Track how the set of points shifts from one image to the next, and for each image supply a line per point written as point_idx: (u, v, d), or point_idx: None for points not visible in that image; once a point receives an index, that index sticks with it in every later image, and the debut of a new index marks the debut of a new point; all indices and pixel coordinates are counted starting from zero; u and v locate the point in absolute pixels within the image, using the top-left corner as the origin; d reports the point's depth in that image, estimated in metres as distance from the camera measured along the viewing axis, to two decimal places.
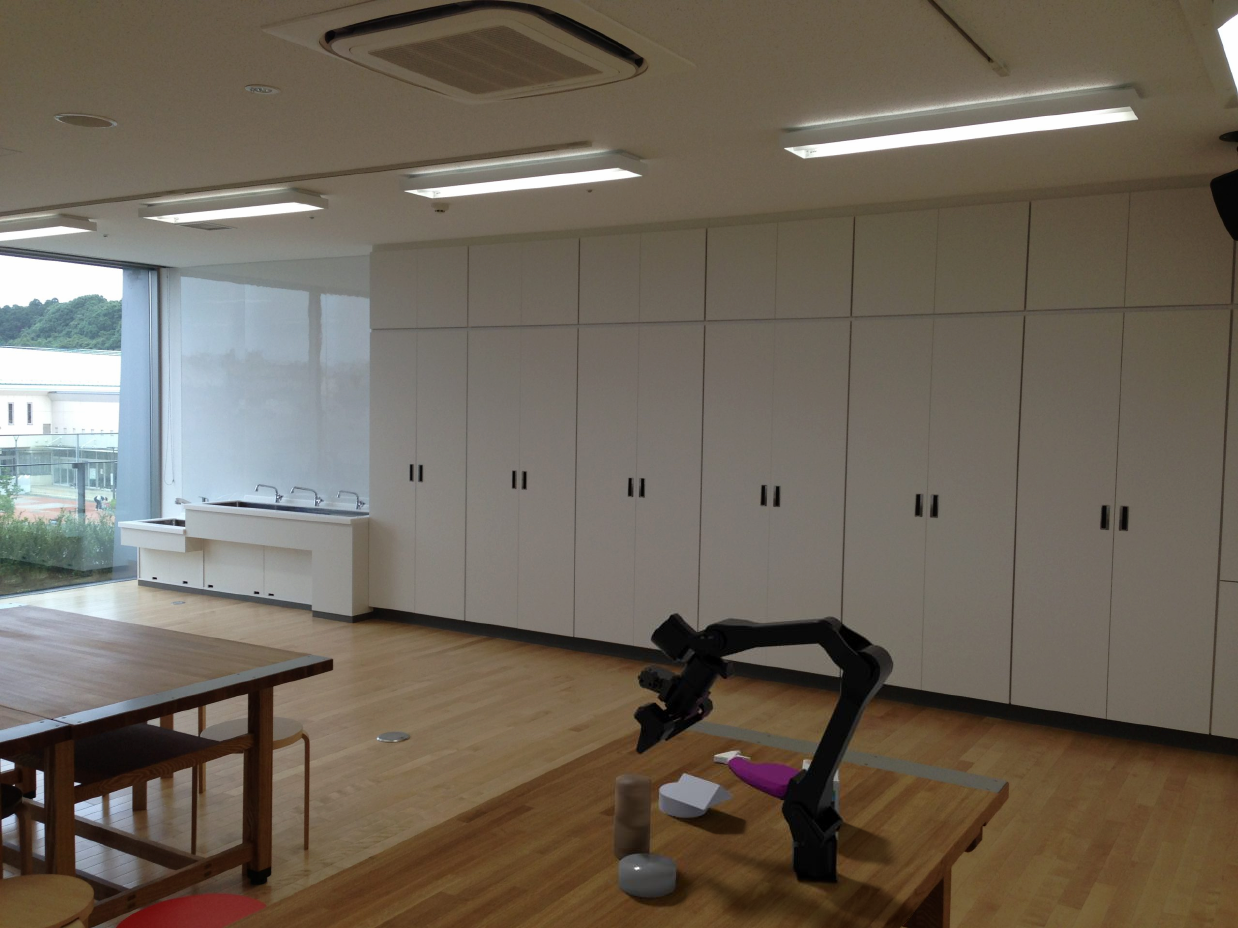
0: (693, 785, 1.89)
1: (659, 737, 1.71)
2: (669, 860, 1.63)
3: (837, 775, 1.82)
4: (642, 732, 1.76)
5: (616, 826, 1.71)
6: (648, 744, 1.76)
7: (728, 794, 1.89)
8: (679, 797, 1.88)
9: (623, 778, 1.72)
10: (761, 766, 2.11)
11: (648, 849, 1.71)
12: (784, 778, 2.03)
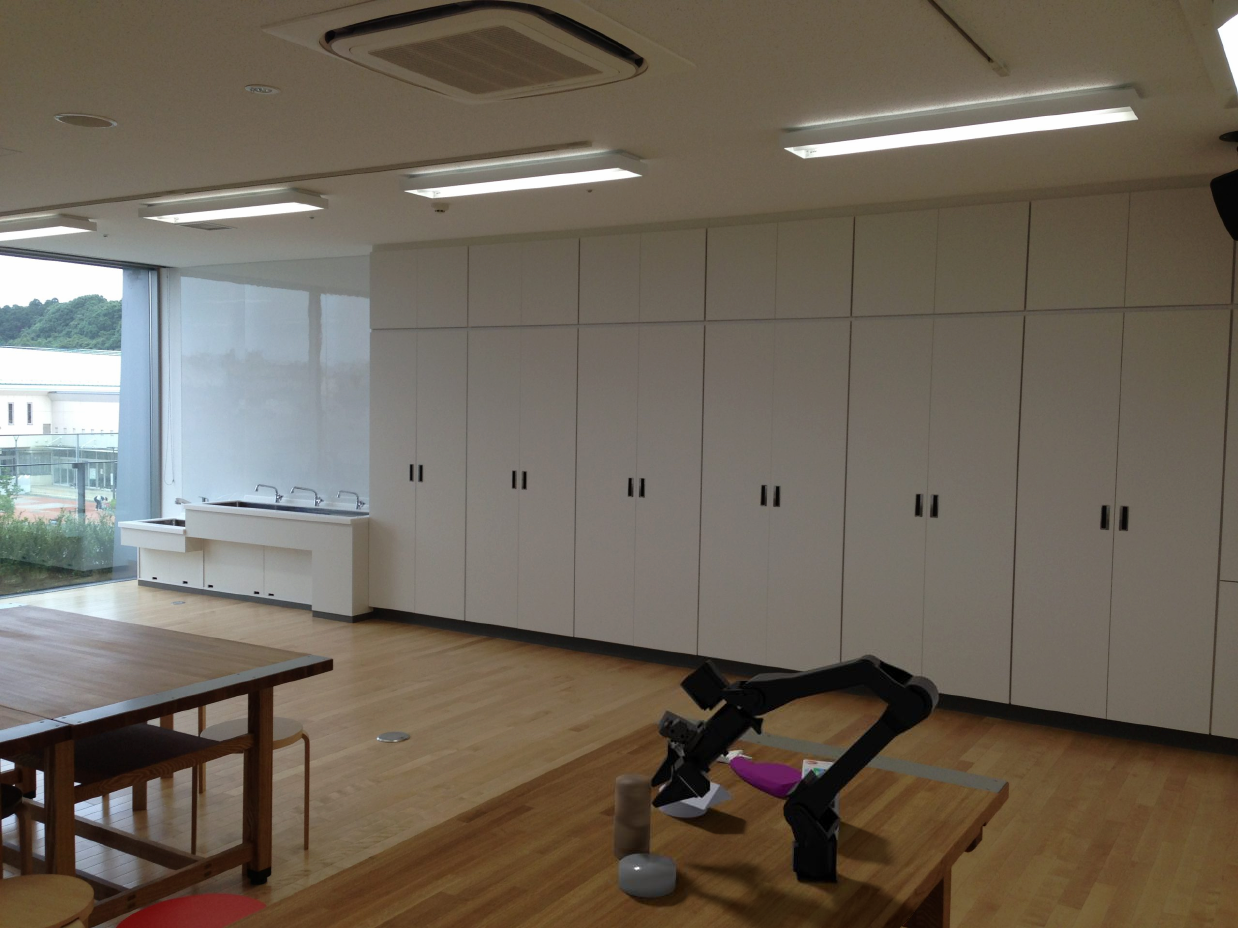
0: None
1: (703, 795, 1.63)
2: (669, 860, 1.63)
3: None
4: (669, 786, 1.66)
5: (616, 826, 1.71)
6: (673, 799, 1.66)
7: (728, 794, 1.89)
8: None
9: (623, 778, 1.72)
10: (762, 765, 2.11)
11: (648, 849, 1.71)
12: (784, 778, 2.03)
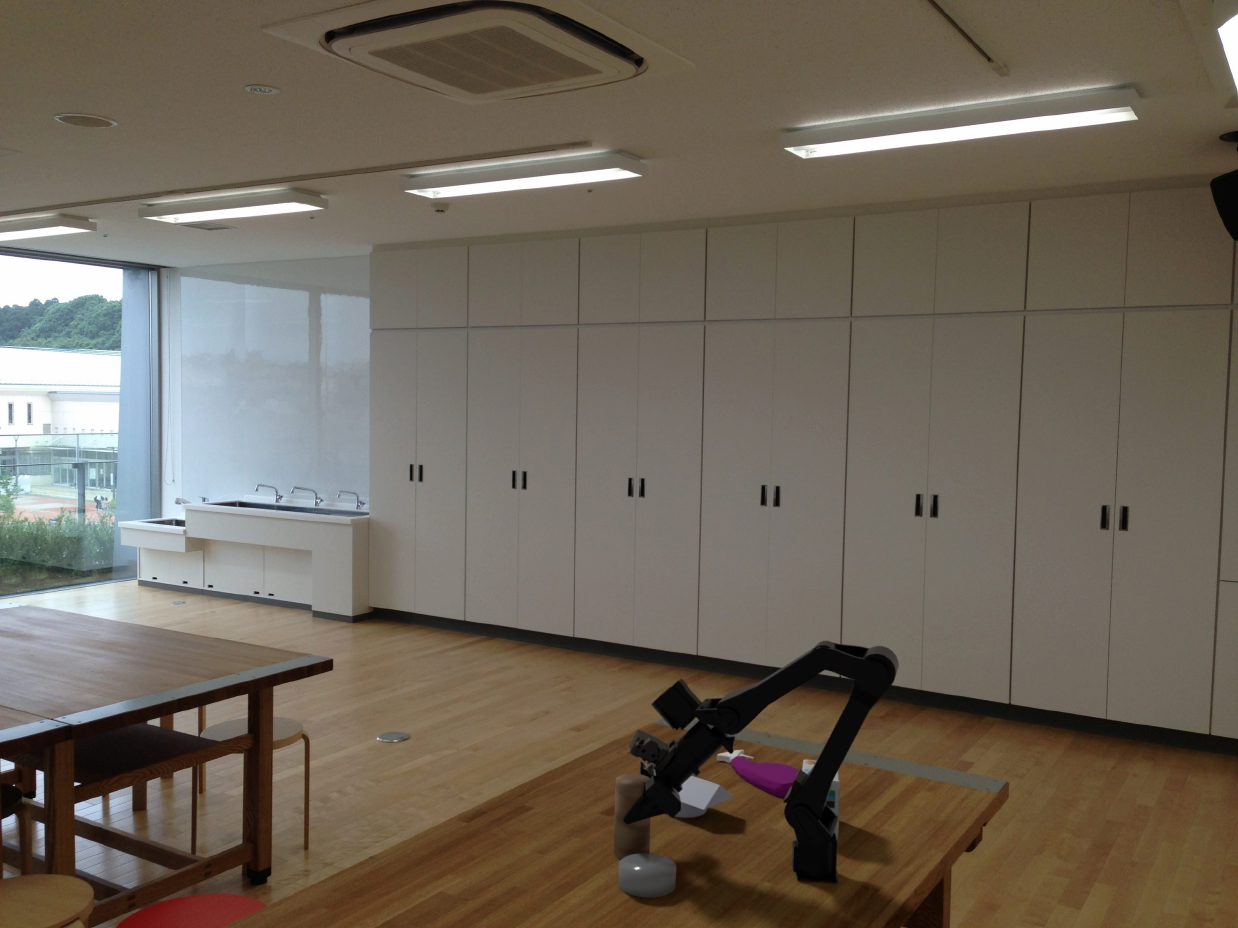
0: (693, 785, 1.89)
1: (674, 815, 1.63)
2: (669, 860, 1.63)
3: (837, 775, 1.82)
4: (640, 803, 1.67)
5: (616, 826, 1.71)
6: (644, 815, 1.68)
7: (728, 794, 1.89)
8: None
9: (623, 778, 1.72)
10: (763, 765, 2.11)
11: (648, 849, 1.71)
12: (785, 777, 2.03)
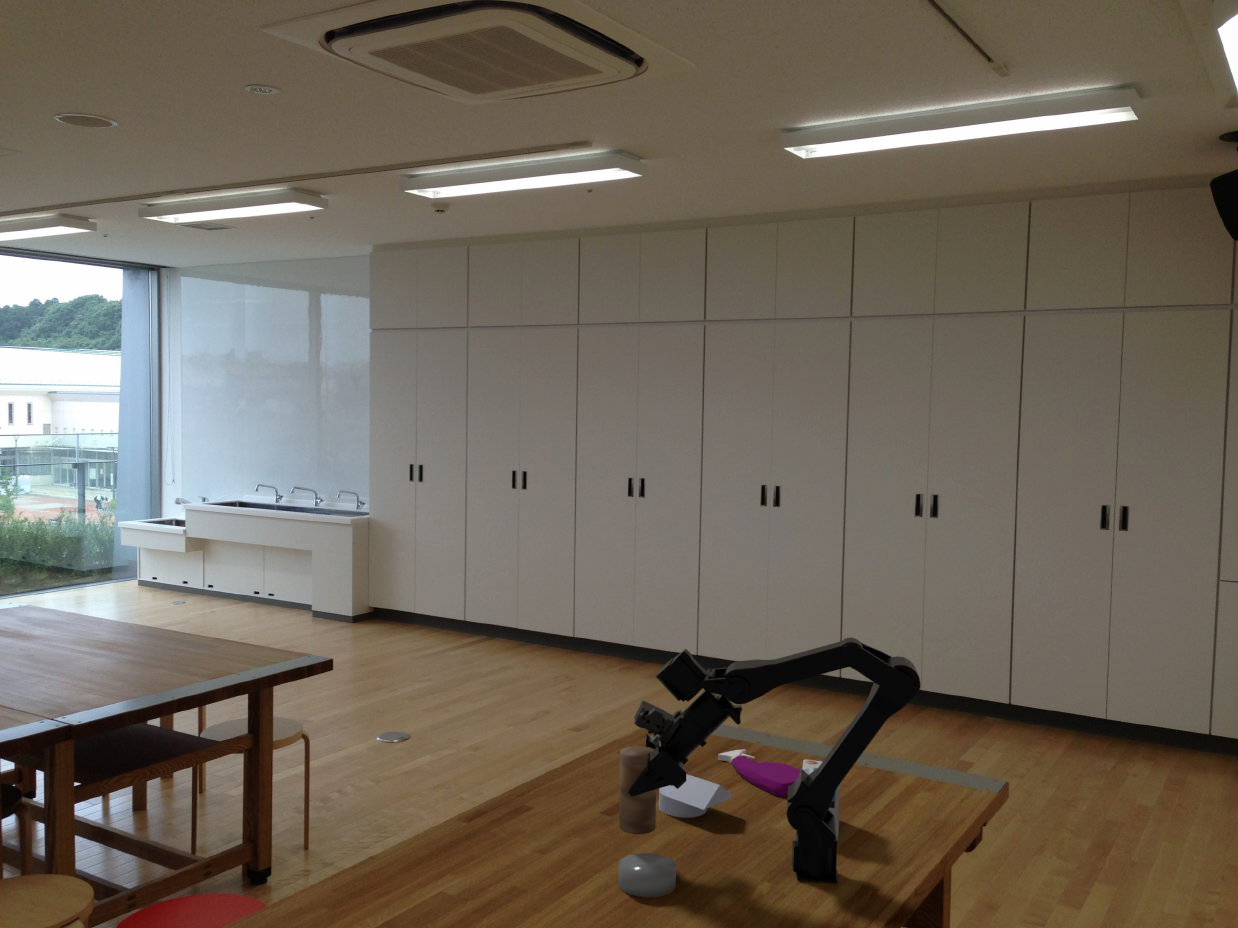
0: (693, 785, 1.89)
1: (679, 786, 1.60)
2: (669, 860, 1.63)
3: None
4: (645, 775, 1.64)
5: (621, 799, 1.68)
6: (649, 787, 1.65)
7: (728, 794, 1.89)
8: (679, 797, 1.88)
9: (628, 750, 1.70)
10: (764, 765, 2.11)
11: (654, 822, 1.68)
12: (785, 777, 2.04)
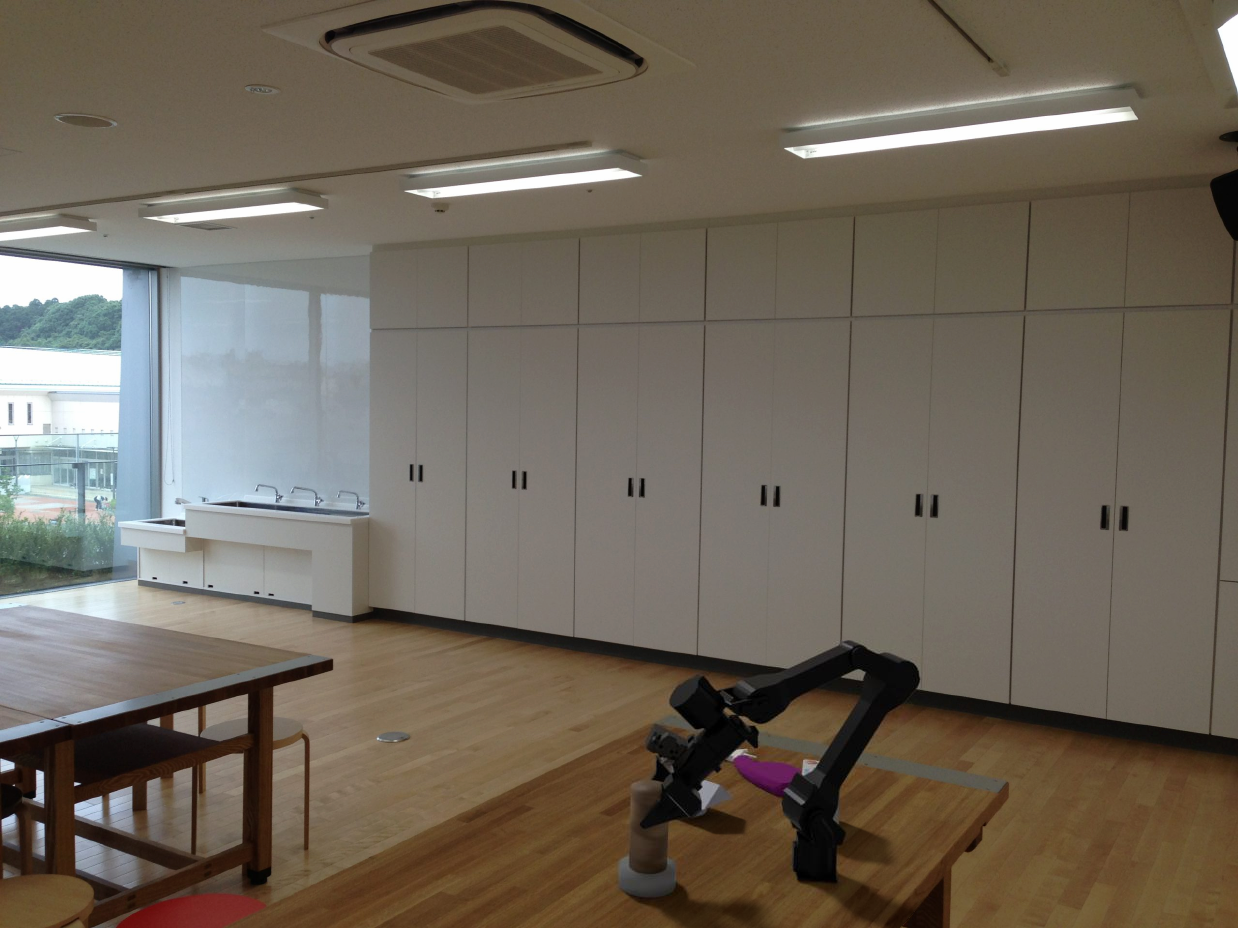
0: None
1: (694, 815, 1.52)
2: (669, 860, 1.63)
3: None
4: (658, 806, 1.54)
5: (631, 836, 1.59)
6: (662, 819, 1.55)
7: (728, 794, 1.89)
8: None
9: (639, 785, 1.61)
10: (764, 764, 2.12)
11: (666, 861, 1.60)
12: (785, 777, 2.04)
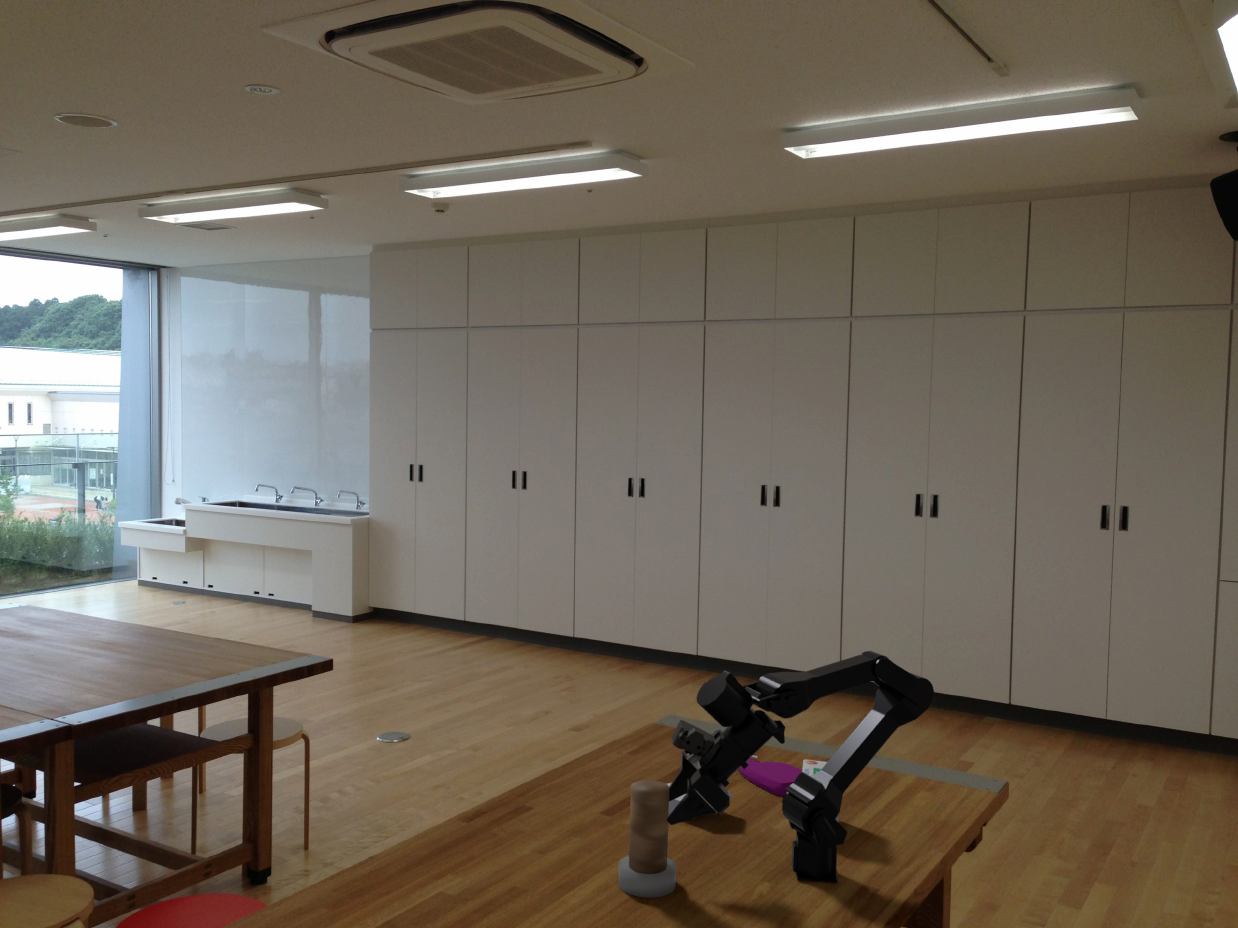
0: None
1: (722, 811, 1.52)
2: (669, 860, 1.63)
3: None
4: (686, 802, 1.55)
5: (631, 836, 1.59)
6: (689, 815, 1.55)
7: None
8: (679, 797, 1.88)
9: (639, 785, 1.61)
10: (765, 764, 2.12)
11: (666, 861, 1.60)
12: (785, 777, 2.04)
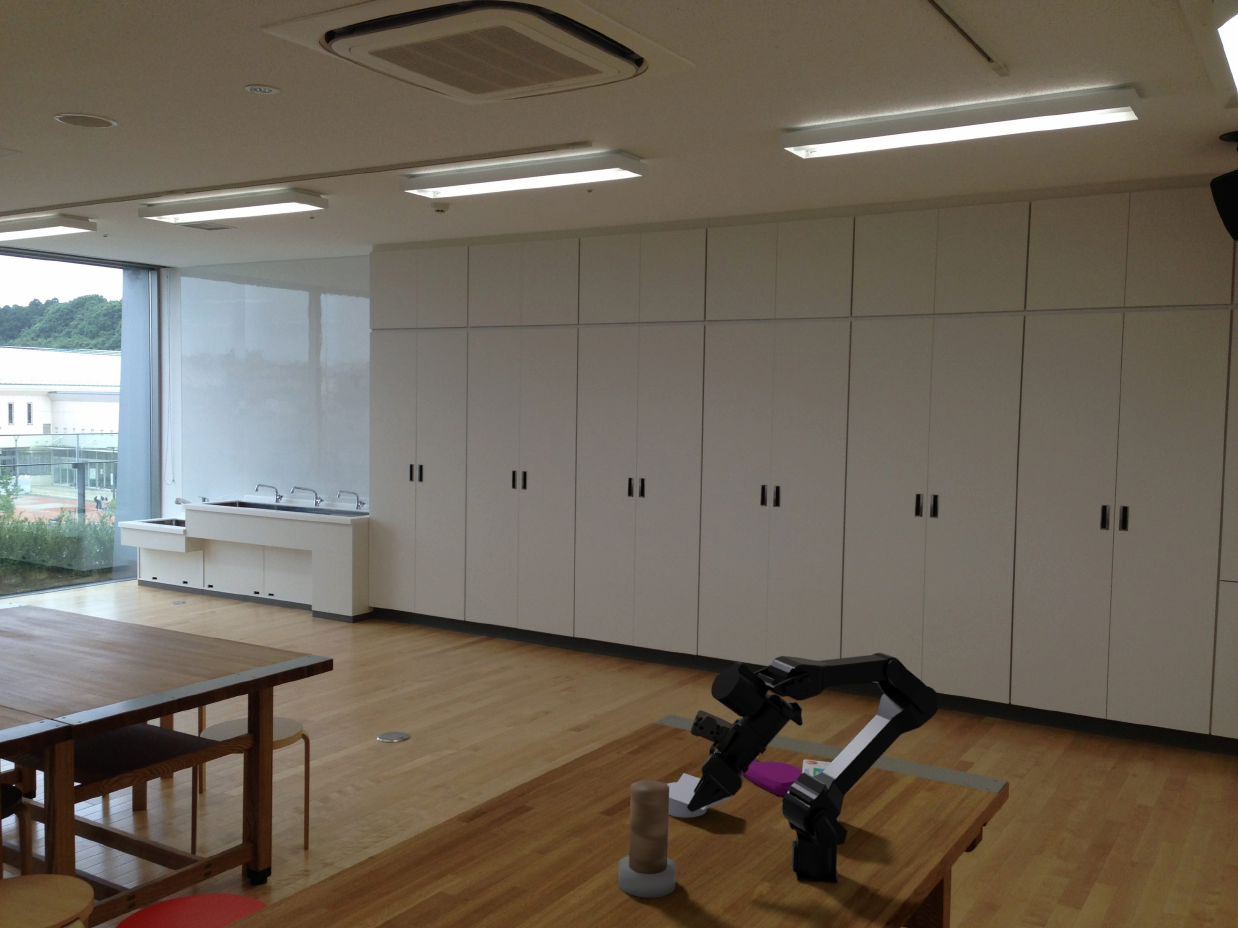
0: (693, 785, 1.89)
1: (734, 792, 1.53)
2: (669, 860, 1.63)
3: None
4: (702, 787, 1.56)
5: (631, 836, 1.59)
6: (707, 800, 1.56)
7: None
8: (679, 797, 1.88)
9: (639, 785, 1.61)
10: (765, 764, 2.12)
11: (666, 861, 1.60)
12: (785, 777, 2.04)
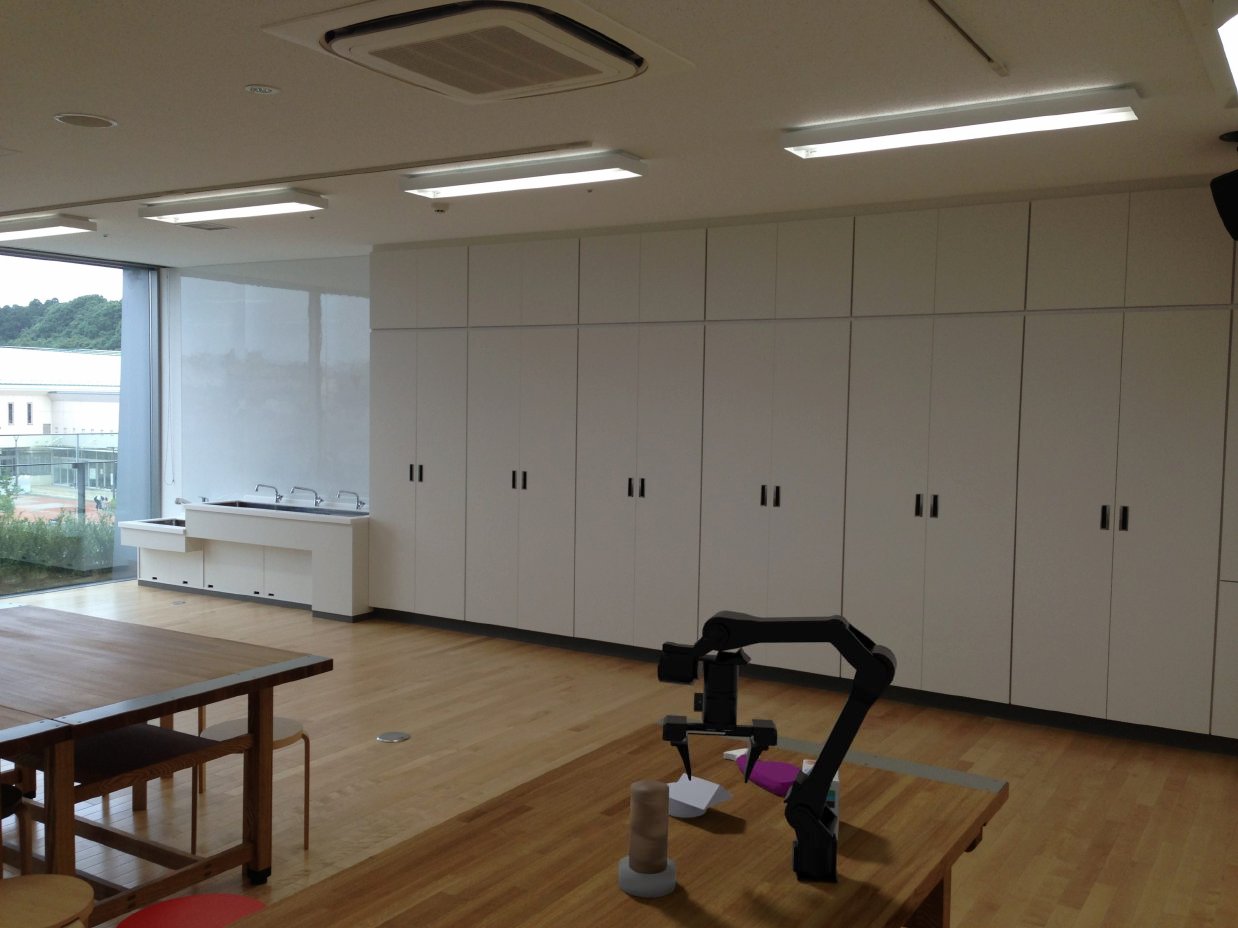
0: (693, 784, 1.89)
1: (664, 737, 1.68)
2: (669, 860, 1.63)
3: (837, 775, 1.82)
4: None
5: (631, 836, 1.59)
6: None
7: (728, 794, 1.89)
8: (678, 797, 1.88)
9: (639, 785, 1.61)
10: (766, 764, 2.12)
11: (666, 861, 1.60)
12: (785, 776, 2.04)
